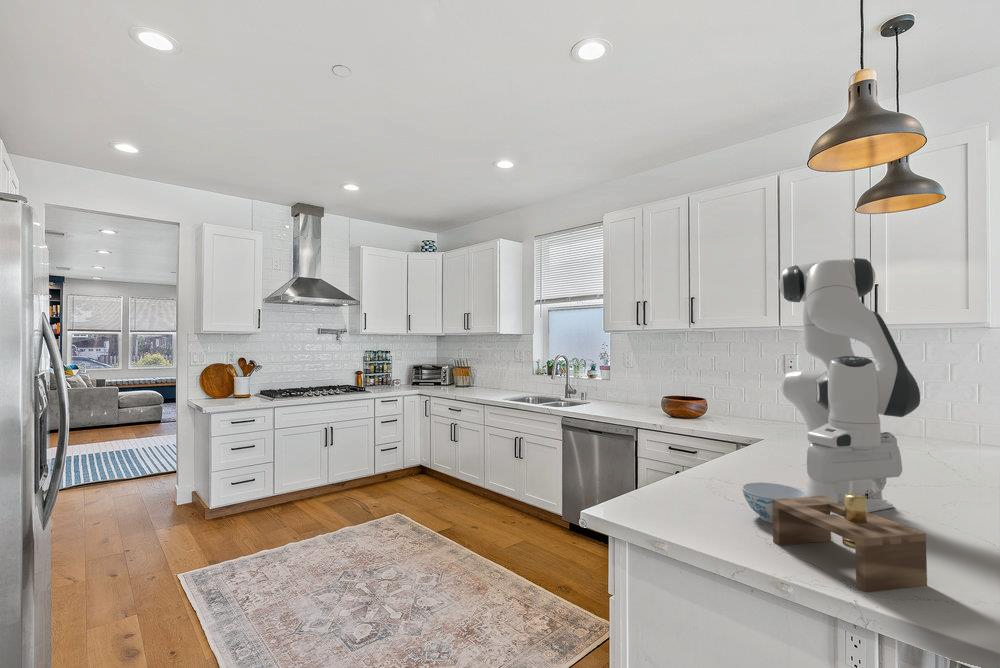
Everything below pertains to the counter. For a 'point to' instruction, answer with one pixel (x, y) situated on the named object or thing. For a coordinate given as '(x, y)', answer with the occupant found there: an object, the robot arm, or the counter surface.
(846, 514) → the brass peg
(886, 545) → the keyhole shelf
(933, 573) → the counter surface
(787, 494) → the chinaware
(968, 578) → the counter surface
